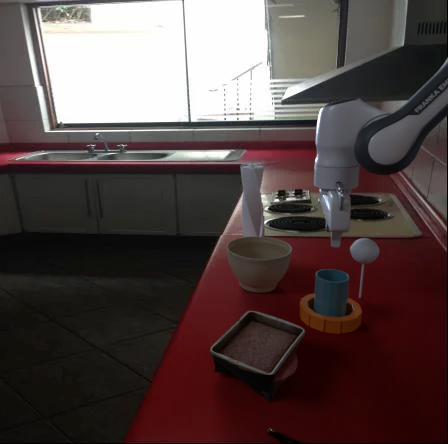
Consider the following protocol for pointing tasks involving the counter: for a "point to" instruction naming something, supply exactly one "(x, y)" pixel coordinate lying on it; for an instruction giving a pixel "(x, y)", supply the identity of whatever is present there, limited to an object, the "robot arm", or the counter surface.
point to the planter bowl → (258, 262)
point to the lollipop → (364, 254)
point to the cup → (331, 292)
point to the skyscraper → (252, 200)
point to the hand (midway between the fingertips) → (332, 238)
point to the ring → (330, 323)
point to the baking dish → (259, 351)
